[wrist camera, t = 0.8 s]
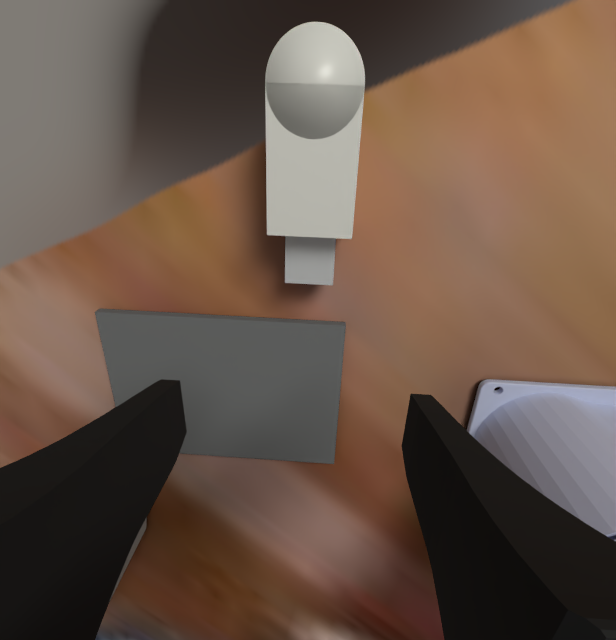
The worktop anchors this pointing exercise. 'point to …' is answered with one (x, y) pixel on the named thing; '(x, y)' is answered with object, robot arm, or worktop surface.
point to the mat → (235, 378)
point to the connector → (312, 146)
